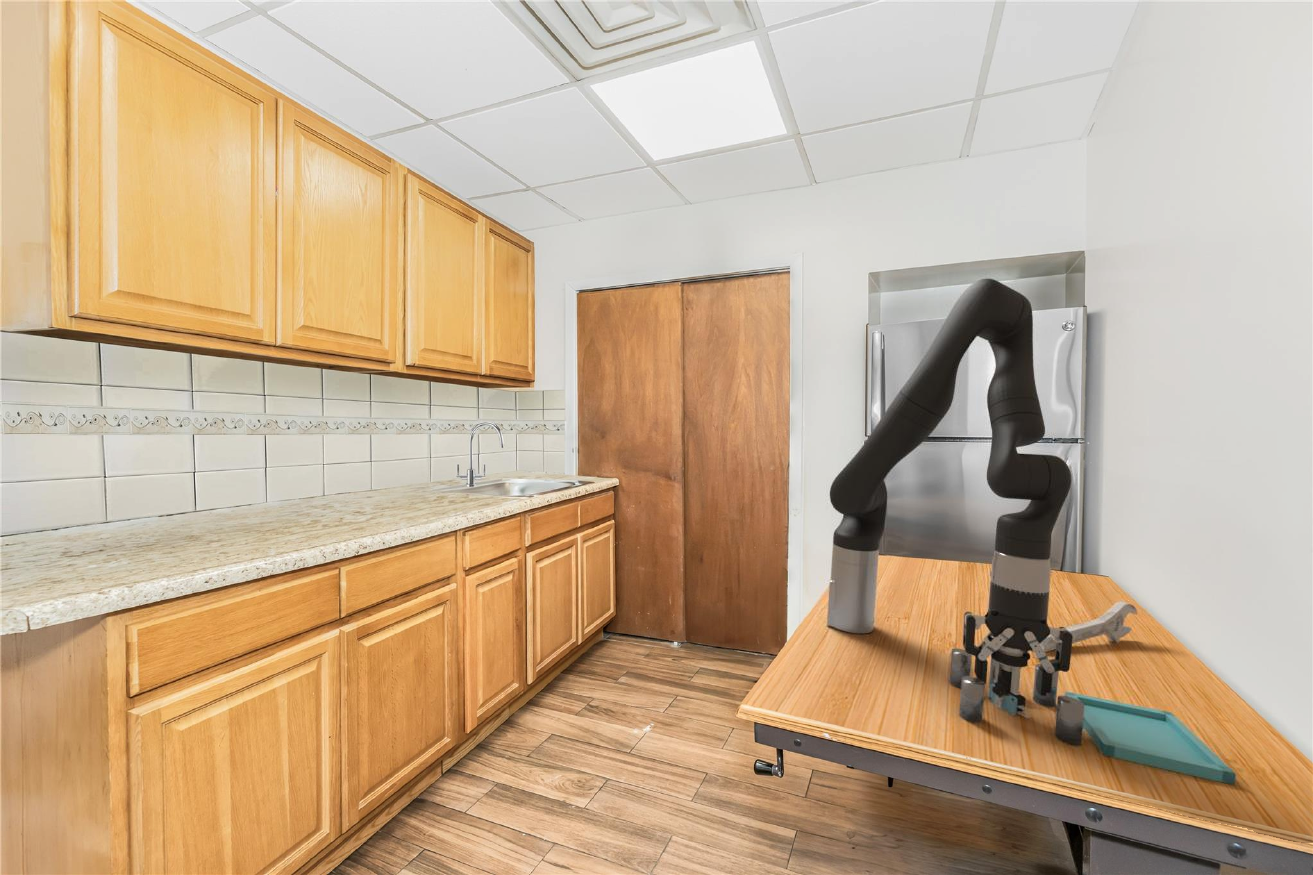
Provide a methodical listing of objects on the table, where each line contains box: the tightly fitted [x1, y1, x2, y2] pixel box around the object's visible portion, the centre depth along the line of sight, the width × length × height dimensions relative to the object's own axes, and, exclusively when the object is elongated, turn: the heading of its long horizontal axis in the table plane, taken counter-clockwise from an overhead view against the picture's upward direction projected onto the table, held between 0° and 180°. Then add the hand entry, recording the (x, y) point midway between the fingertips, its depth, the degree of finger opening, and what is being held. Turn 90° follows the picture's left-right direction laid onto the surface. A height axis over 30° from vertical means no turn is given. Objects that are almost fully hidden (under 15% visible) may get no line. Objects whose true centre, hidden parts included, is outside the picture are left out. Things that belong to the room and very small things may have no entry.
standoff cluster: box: [948, 647, 1085, 747], centre depth 83 cm, size 15×15×6 cm
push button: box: [987, 643, 1032, 719], centre depth 82 cm, size 7×5×10 cm
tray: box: [1064, 691, 1237, 786], centre depth 76 cm, size 13×15×2 cm
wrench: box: [1040, 601, 1138, 653], centre depth 110 cm, size 8×2×30 cm
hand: (1011, 687), depth 82 cm, fingers open, 7 cm apart
